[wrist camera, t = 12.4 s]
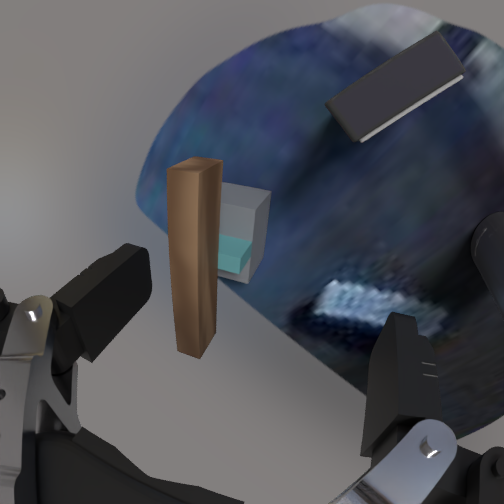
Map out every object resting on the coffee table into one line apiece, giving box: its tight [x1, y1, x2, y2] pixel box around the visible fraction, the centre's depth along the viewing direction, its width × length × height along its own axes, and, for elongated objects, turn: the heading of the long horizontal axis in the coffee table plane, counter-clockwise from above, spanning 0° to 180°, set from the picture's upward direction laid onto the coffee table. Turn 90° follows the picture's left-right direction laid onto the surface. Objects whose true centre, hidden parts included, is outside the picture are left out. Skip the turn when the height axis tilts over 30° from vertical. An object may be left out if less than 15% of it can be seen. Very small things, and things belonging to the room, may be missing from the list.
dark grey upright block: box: [325, 31, 466, 143], centre depth 23 cm, size 11×4×15 cm, turn 131°
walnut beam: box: [167, 156, 223, 359], centre depth 32 cm, size 3×22×5 cm, turn 175°
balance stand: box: [218, 182, 271, 284], centre depth 38 cm, size 8×10×11 cm
